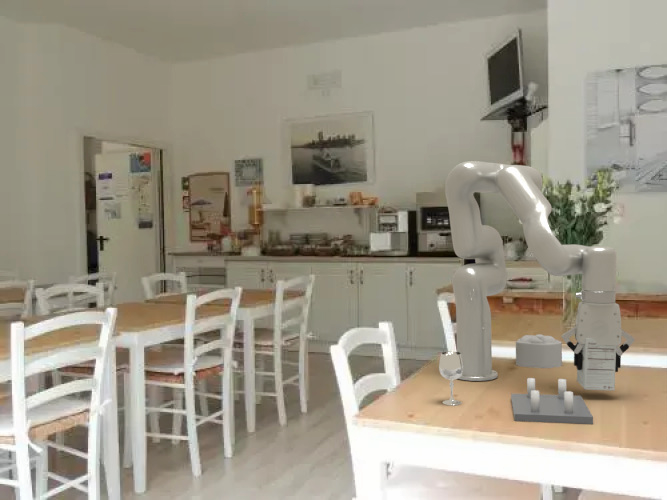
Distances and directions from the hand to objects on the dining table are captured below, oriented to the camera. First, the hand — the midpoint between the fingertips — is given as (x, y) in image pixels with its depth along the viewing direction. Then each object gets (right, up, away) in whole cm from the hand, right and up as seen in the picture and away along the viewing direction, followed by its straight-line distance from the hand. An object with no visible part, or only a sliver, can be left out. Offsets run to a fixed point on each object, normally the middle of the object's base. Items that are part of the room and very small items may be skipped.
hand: (596, 369), depth 162 cm
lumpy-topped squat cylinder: (-2, -6, +40) cm, 41 cm away
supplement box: (0, -5, +1) cm, 5 cm away
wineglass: (-35, -8, -2) cm, 36 cm away
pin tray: (-15, -8, -10) cm, 20 cm away
